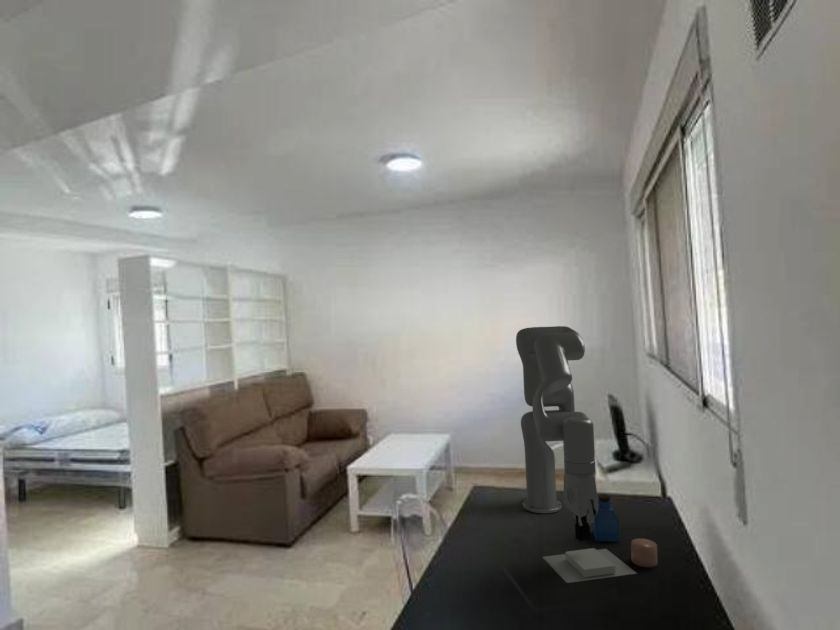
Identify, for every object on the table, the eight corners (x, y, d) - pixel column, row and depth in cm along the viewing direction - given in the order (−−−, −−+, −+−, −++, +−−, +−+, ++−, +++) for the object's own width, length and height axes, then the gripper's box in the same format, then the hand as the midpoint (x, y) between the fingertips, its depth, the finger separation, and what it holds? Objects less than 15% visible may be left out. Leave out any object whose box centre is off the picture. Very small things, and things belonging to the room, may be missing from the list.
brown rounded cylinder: (627, 558, 134) (627, 538, 134) (651, 557, 134) (650, 538, 134) (637, 570, 128) (636, 549, 128) (661, 569, 128) (661, 549, 128)
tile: (565, 551, 134) (584, 569, 124) (594, 548, 135) (615, 565, 125) (565, 559, 134) (584, 578, 124) (594, 555, 135) (615, 574, 125)
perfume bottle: (619, 544, 143) (617, 500, 143) (596, 543, 144) (594, 499, 144) (615, 534, 149) (614, 492, 149) (593, 533, 150) (591, 492, 150)
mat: (542, 559, 136) (542, 556, 136) (606, 550, 139) (606, 548, 139) (566, 585, 122) (566, 583, 122) (637, 575, 125) (637, 573, 125)
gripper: (553, 460, 139) (556, 529, 139) (580, 476, 125) (583, 554, 124) (579, 458, 141) (582, 526, 141) (609, 473, 126) (612, 550, 126)
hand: (582, 539), depth 133 cm, fingers closed
